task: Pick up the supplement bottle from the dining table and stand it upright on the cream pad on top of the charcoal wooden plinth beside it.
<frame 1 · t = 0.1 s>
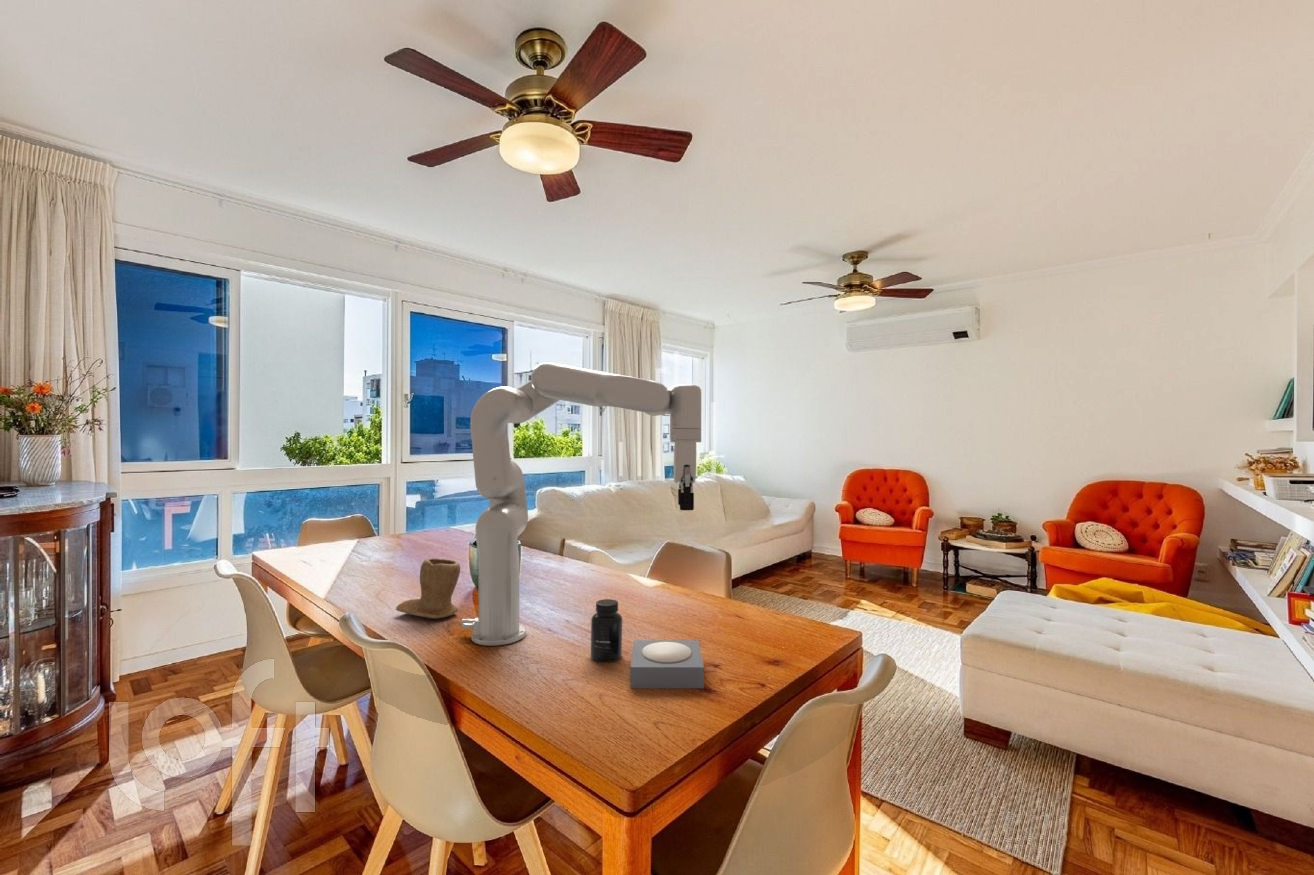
hand: (685, 507, 131), 31 cm above the table, tool pointing down, fingers open, 9 cm apart
plinth: (666, 672, 111), on the table
tan flared hollow piece: (432, 614, 148), on the table
supplement bottle: (606, 657, 119), on the table
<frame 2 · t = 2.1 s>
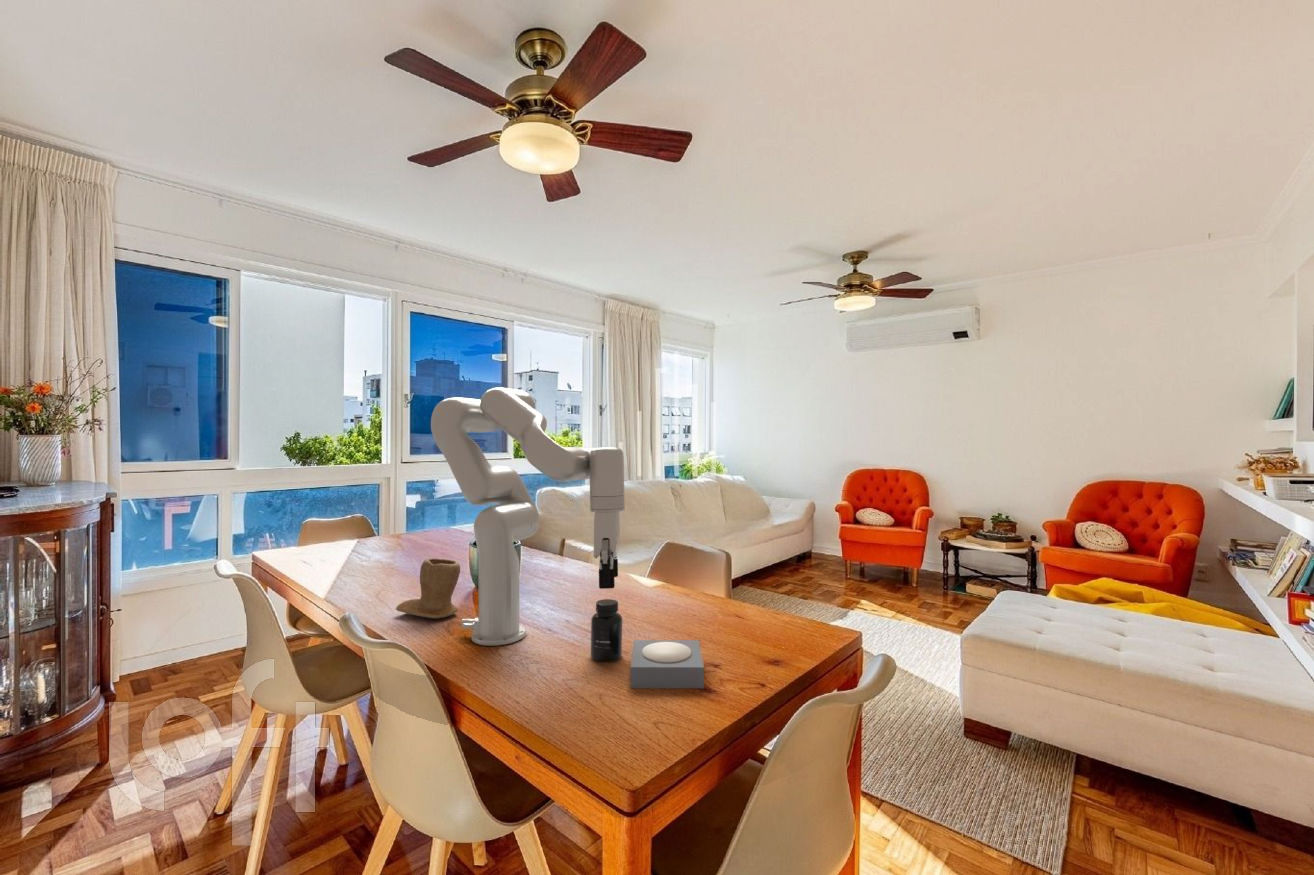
hand: (608, 582, 119), 16 cm above the table, tool pointing down, fingers open, 9 cm apart
nothing on the table moved.
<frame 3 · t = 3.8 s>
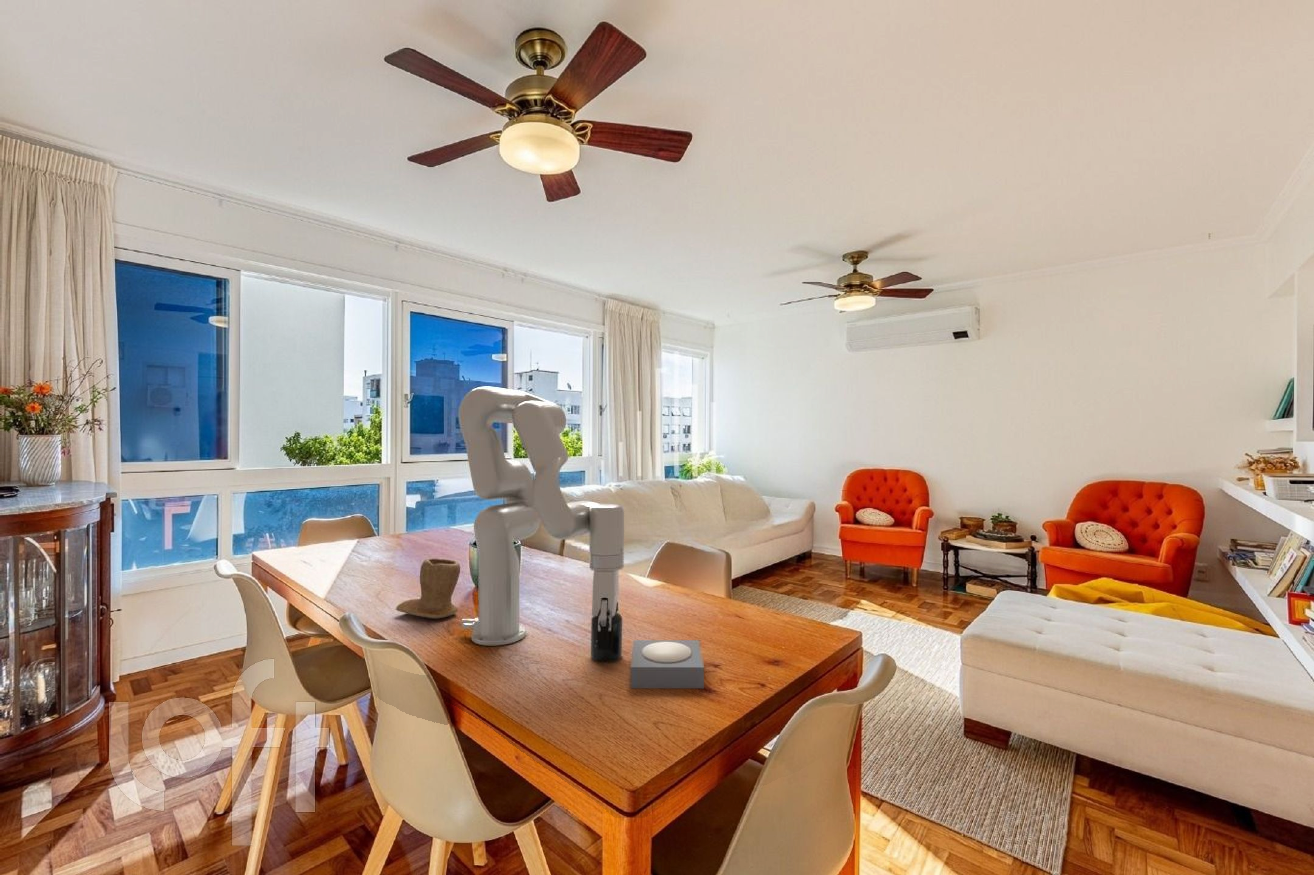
hand: (606, 641, 119), 3 cm above the table, tool pointing down, fingers closed on supplement bottle, 6 cm apart
supplement bottle: (606, 657, 119), on the table, touching gripper
everything else where it was.
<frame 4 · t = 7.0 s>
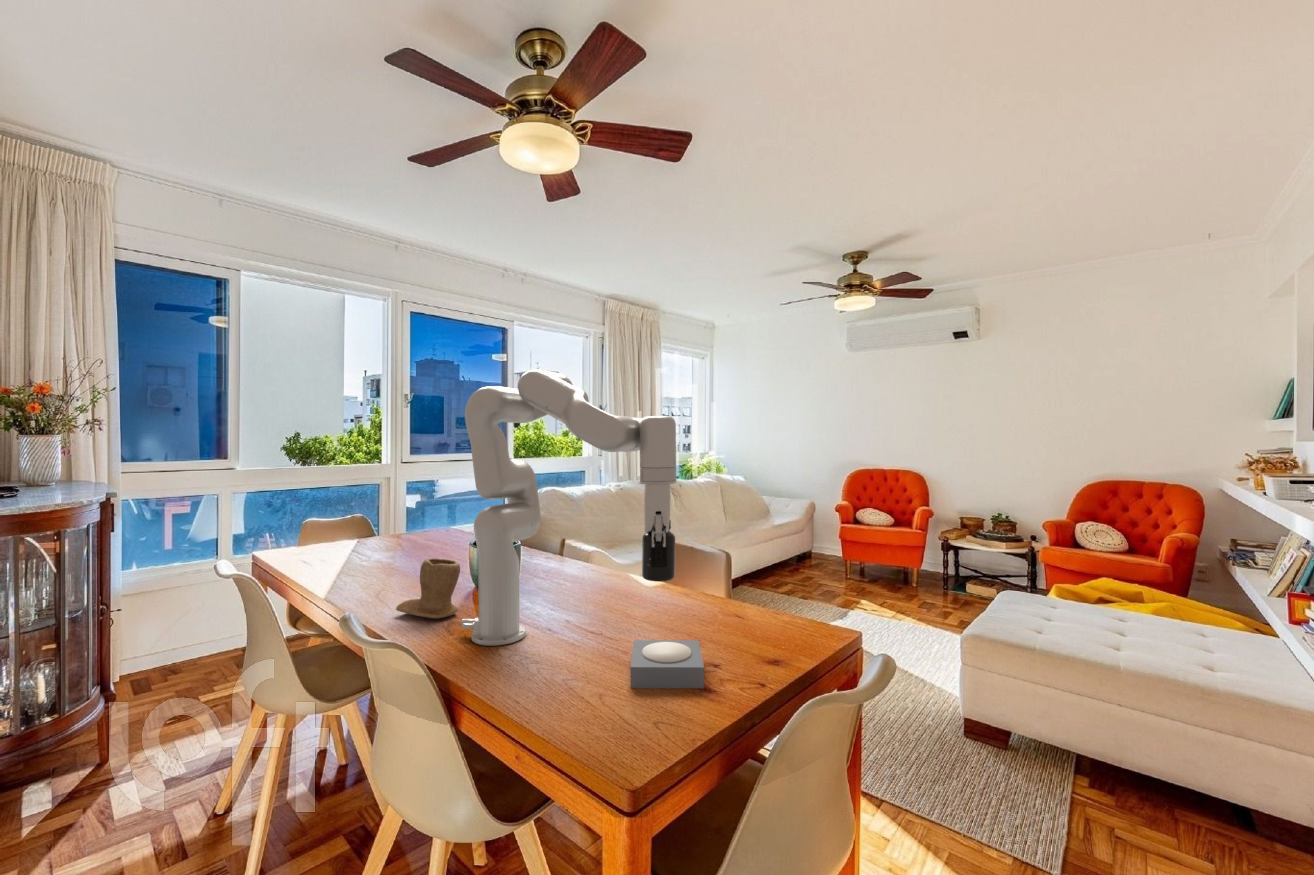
hand: (658, 562, 112), 22 cm above the table, tool pointing down, fingers closed on supplement bottle, 6 cm apart
supplement bottle: (658, 578, 112), point 19 cm above the table, touching gripper
everything else where it was.
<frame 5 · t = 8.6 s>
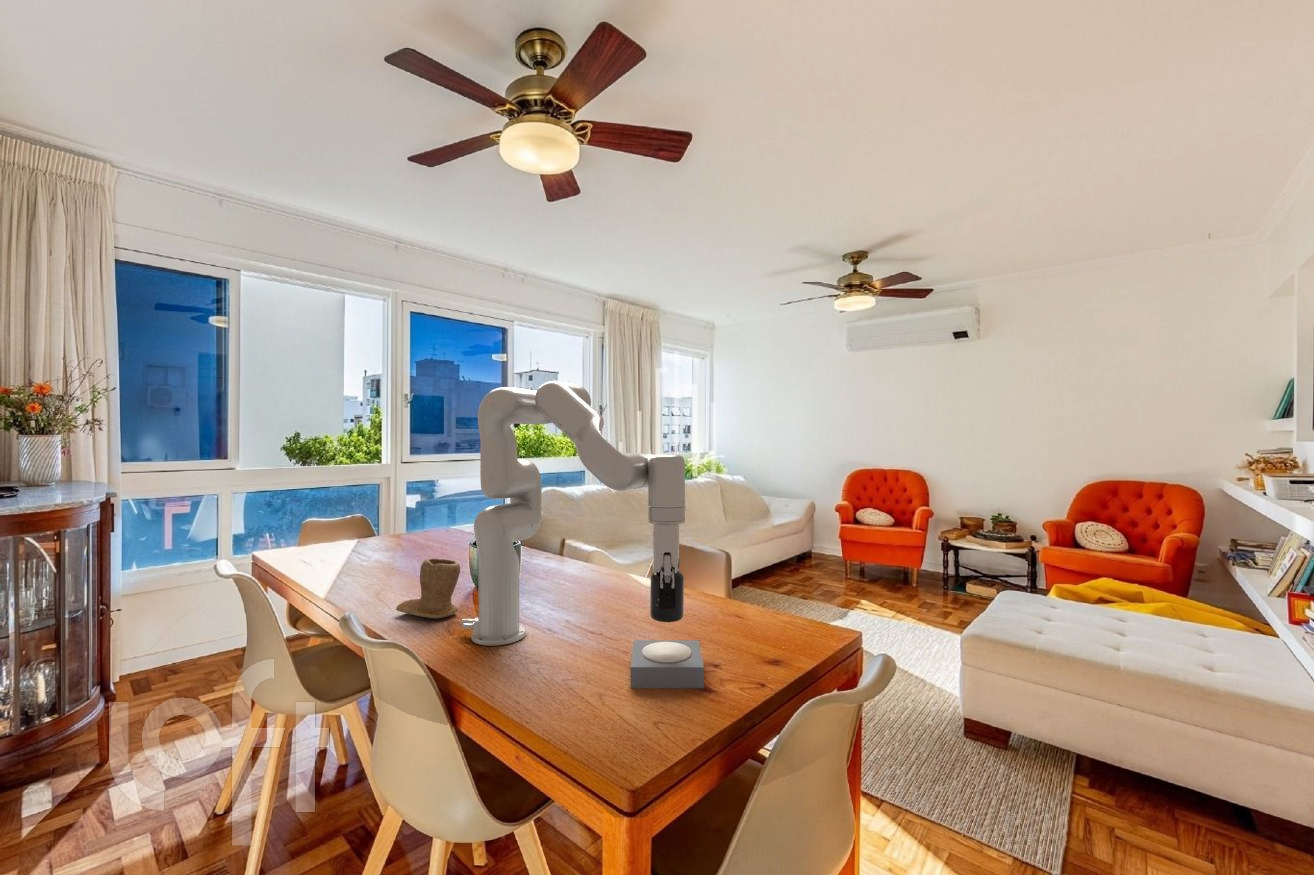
hand: (667, 601, 111), 14 cm above the table, tool pointing down, fingers closed on supplement bottle, 6 cm apart
supplement bottle: (667, 618, 111), point 11 cm above the table, touching gripper
everything else where it was.
when the fingers open (9 cm above the table, at t = 10.1 s): supplement bottle drops 1 cm, resting on plinth.
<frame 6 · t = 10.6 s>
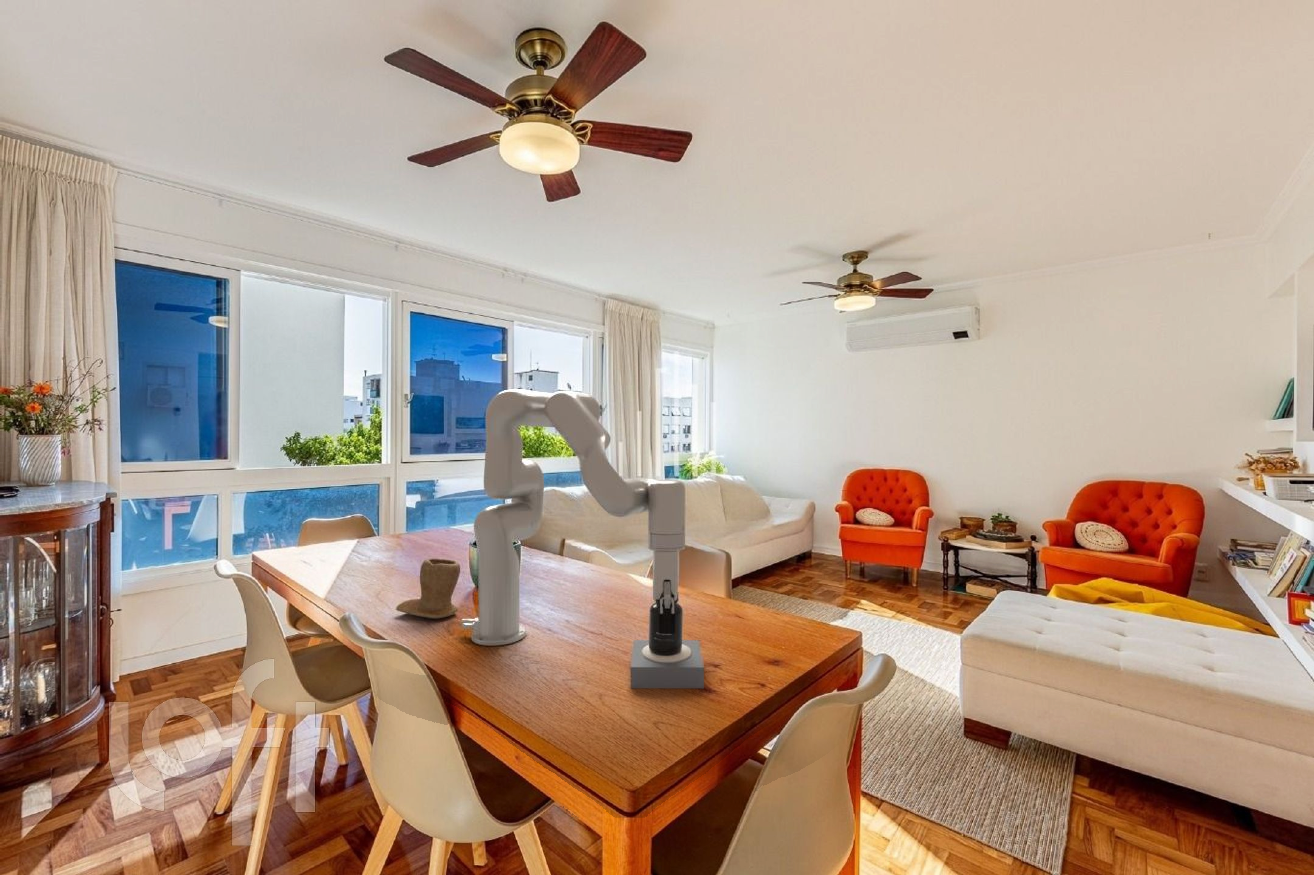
hand: (666, 624, 111), 10 cm above the table, tool pointing down, fingers open, 9 cm apart
supplement bottle: (665, 651, 111), point 4 cm above the table, touching plinth
everything else where it was.
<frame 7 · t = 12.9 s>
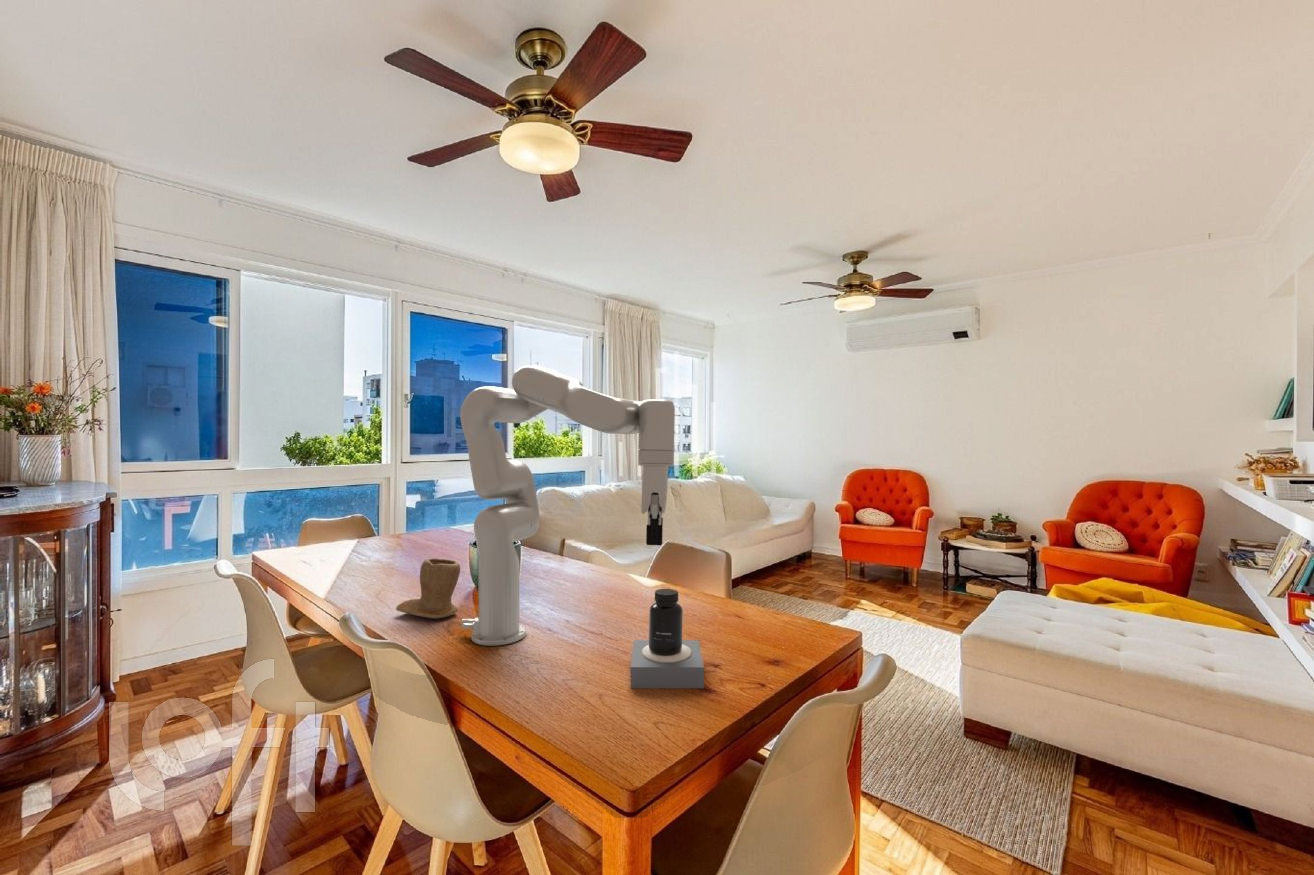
hand: (654, 540, 114), 26 cm above the table, tool pointing down, fingers open, 9 cm apart
nothing on the table moved.
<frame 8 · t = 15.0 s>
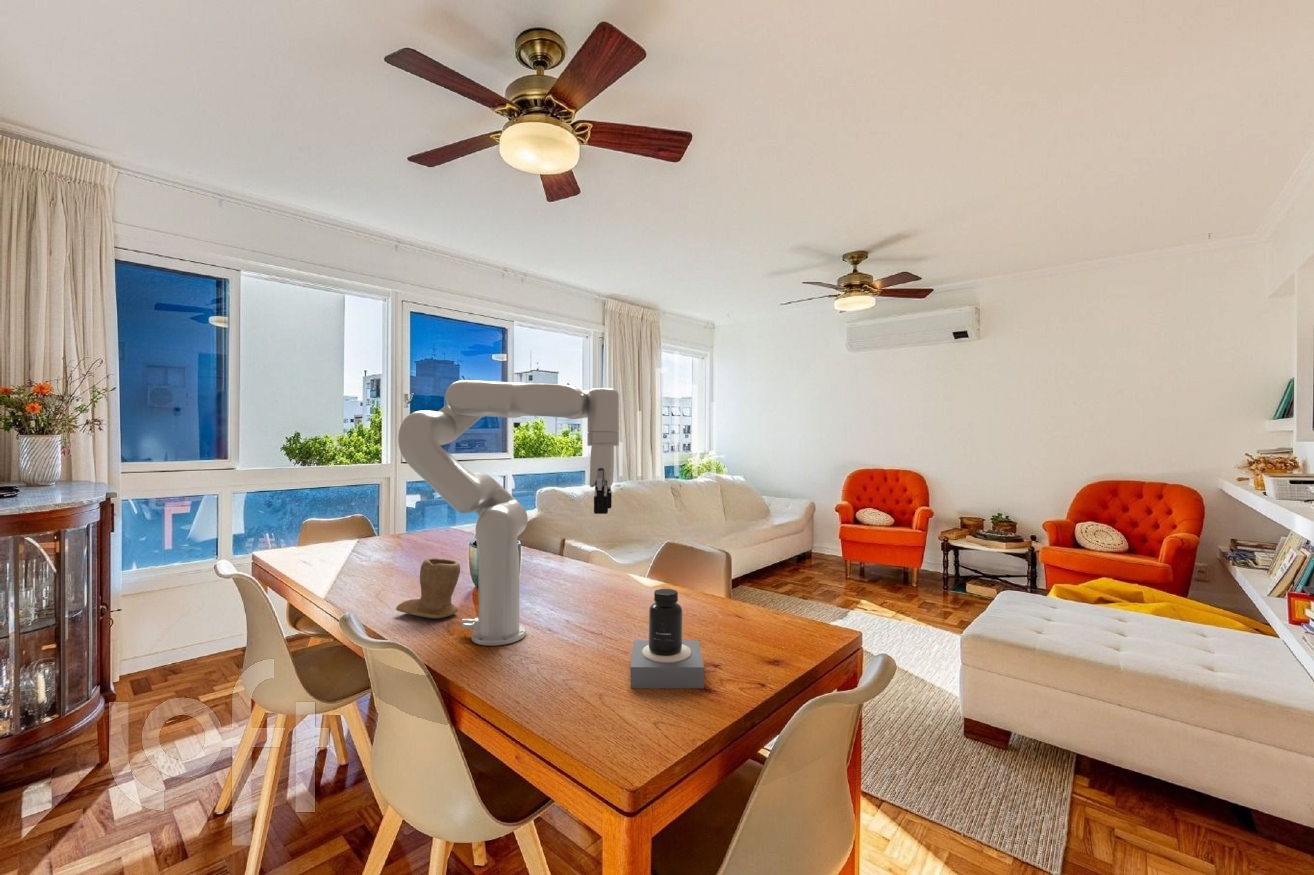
hand: (603, 510, 131), 30 cm above the table, tool pointing down, fingers open, 9 cm apart
nothing on the table moved.
at the end: supplement bottle inside the target area on the plinth (0.4 cm from its centre), point 4.2 cm above the plinth's base; supplement bottle tilted 0°; the gripper is holding nothing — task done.
